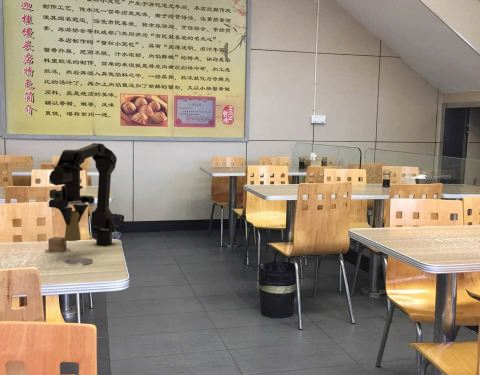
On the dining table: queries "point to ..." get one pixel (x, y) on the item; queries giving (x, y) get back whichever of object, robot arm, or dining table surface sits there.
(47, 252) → the coaster
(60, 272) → the dining table surface
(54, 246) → the walnut cube
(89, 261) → the coaster empty
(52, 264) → the dining table surface
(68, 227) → the brown rounded piece
